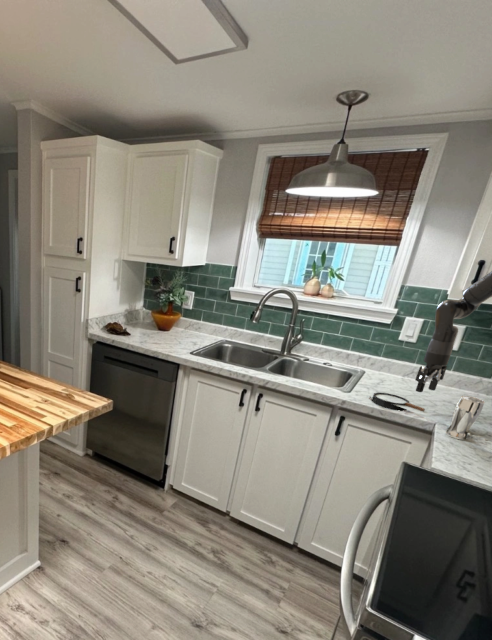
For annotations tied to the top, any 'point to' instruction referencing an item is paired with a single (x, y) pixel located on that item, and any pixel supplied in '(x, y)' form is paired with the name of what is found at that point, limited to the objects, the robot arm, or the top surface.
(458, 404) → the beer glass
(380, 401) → the frying pan
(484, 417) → the top surface
